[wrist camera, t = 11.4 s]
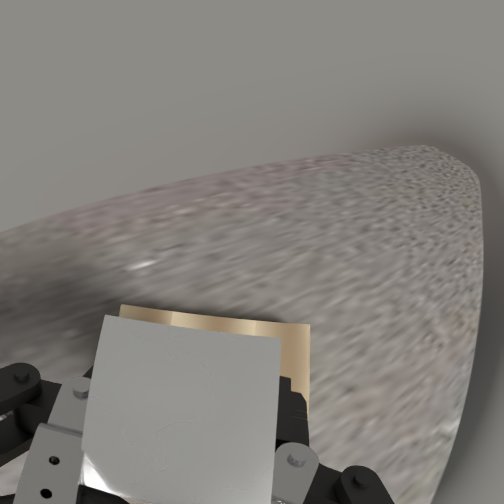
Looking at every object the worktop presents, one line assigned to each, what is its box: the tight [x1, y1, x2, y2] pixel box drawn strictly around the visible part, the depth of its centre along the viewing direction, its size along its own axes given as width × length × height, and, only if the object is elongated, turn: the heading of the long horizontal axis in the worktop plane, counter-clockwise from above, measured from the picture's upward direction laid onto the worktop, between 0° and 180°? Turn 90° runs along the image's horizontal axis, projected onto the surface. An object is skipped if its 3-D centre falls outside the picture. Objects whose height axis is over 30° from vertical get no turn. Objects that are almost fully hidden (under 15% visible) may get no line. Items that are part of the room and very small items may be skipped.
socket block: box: [119, 304, 310, 421], centre depth 21 cm, size 14×14×3 cm
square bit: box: [81, 315, 281, 504], centre depth 10 cm, size 4×4×11 cm
